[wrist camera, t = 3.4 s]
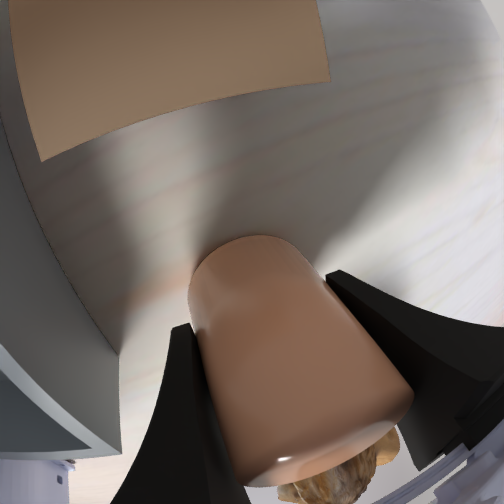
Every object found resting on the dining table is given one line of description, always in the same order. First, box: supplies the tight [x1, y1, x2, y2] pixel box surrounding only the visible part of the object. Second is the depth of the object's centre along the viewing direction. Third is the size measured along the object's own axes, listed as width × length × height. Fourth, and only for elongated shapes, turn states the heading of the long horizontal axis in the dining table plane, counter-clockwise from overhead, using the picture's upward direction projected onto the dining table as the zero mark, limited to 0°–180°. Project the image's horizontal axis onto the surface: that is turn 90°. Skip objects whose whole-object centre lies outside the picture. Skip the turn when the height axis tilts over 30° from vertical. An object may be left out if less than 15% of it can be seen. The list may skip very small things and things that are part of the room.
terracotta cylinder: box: [188, 235, 414, 487], centre depth 9 cm, size 5×5×7 cm
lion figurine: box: [277, 427, 400, 504], centre depth 16 cm, size 15×5×9 cm, turn 57°
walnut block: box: [8, 0, 331, 162], centre depth 5 cm, size 5×5×5 cm
